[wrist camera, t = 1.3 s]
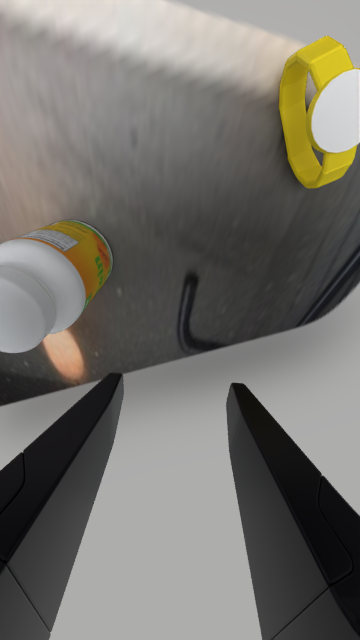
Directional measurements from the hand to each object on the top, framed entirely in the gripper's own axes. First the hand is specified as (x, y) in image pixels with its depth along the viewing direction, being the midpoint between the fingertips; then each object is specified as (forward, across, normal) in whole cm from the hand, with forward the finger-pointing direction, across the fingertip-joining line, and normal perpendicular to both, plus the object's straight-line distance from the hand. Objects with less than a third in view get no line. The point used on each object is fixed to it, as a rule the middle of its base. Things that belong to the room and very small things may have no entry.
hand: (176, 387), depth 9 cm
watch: (+13, -6, -9) cm, 17 cm away
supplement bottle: (+13, +8, 0) cm, 15 cm away
